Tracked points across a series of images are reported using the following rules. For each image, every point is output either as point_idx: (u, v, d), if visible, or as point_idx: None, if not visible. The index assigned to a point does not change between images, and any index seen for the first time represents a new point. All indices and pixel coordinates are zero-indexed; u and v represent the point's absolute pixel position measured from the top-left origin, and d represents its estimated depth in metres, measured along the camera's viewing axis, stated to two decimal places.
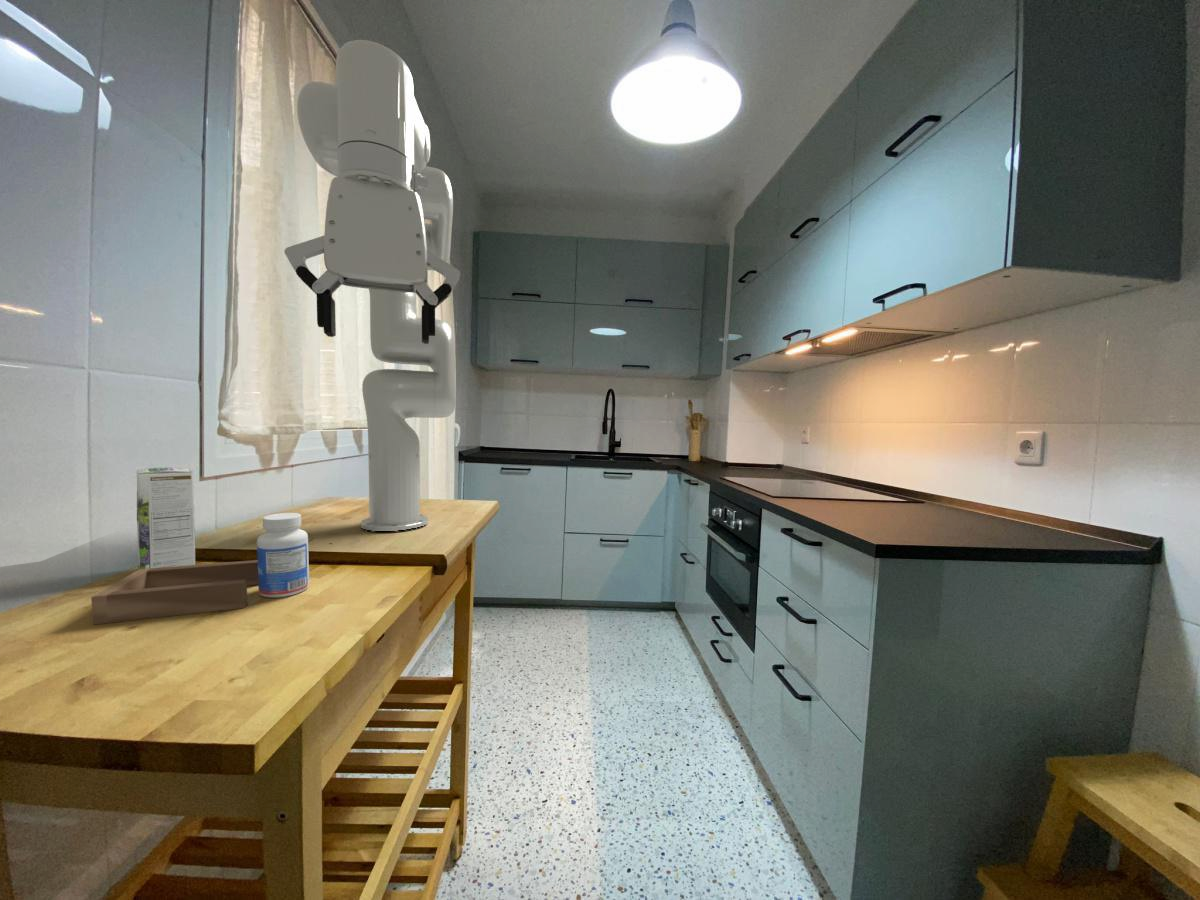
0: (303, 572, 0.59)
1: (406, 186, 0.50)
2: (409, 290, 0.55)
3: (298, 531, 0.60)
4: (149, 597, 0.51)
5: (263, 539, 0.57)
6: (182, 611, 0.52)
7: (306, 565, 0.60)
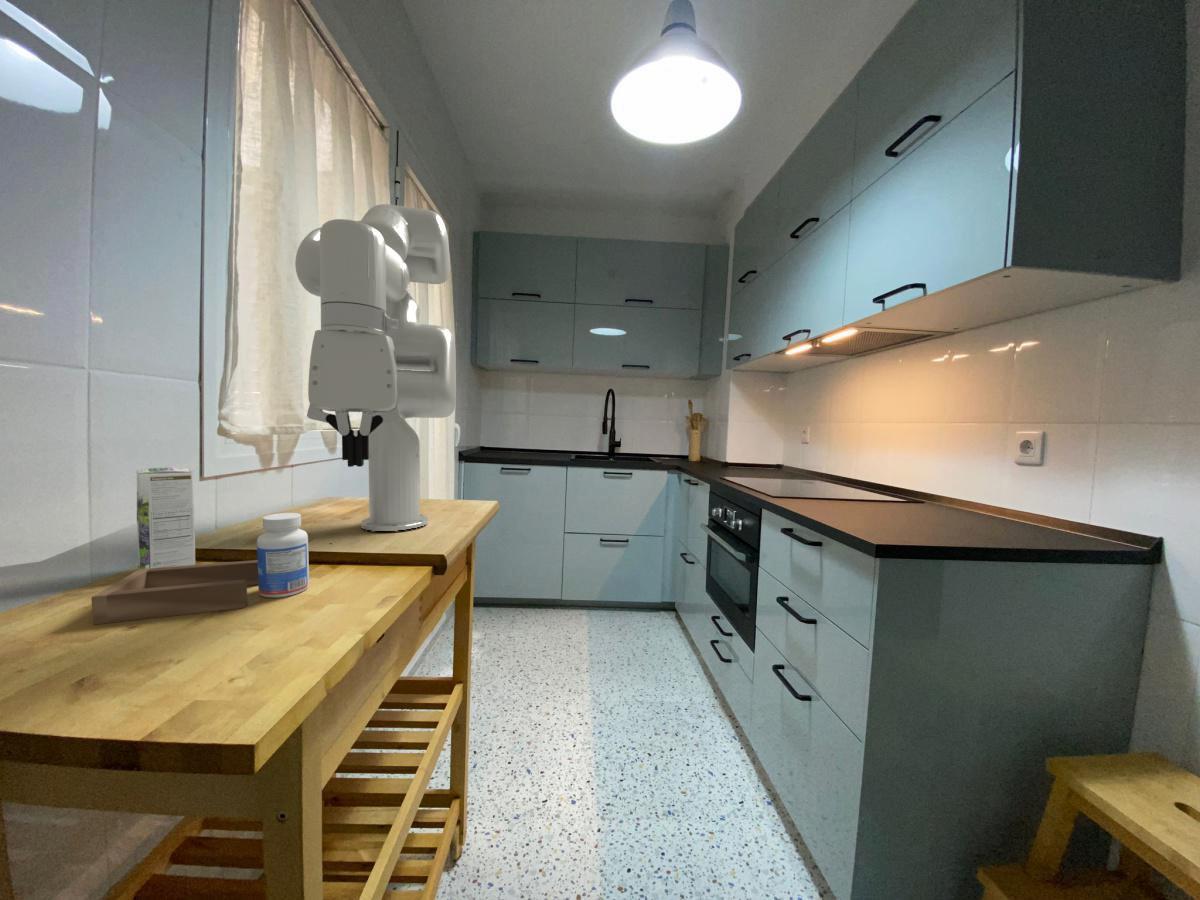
0: (303, 572, 0.59)
1: (378, 332, 0.60)
2: None
3: (298, 531, 0.60)
4: (149, 597, 0.51)
5: (263, 539, 0.57)
6: (182, 611, 0.52)
7: (306, 565, 0.60)
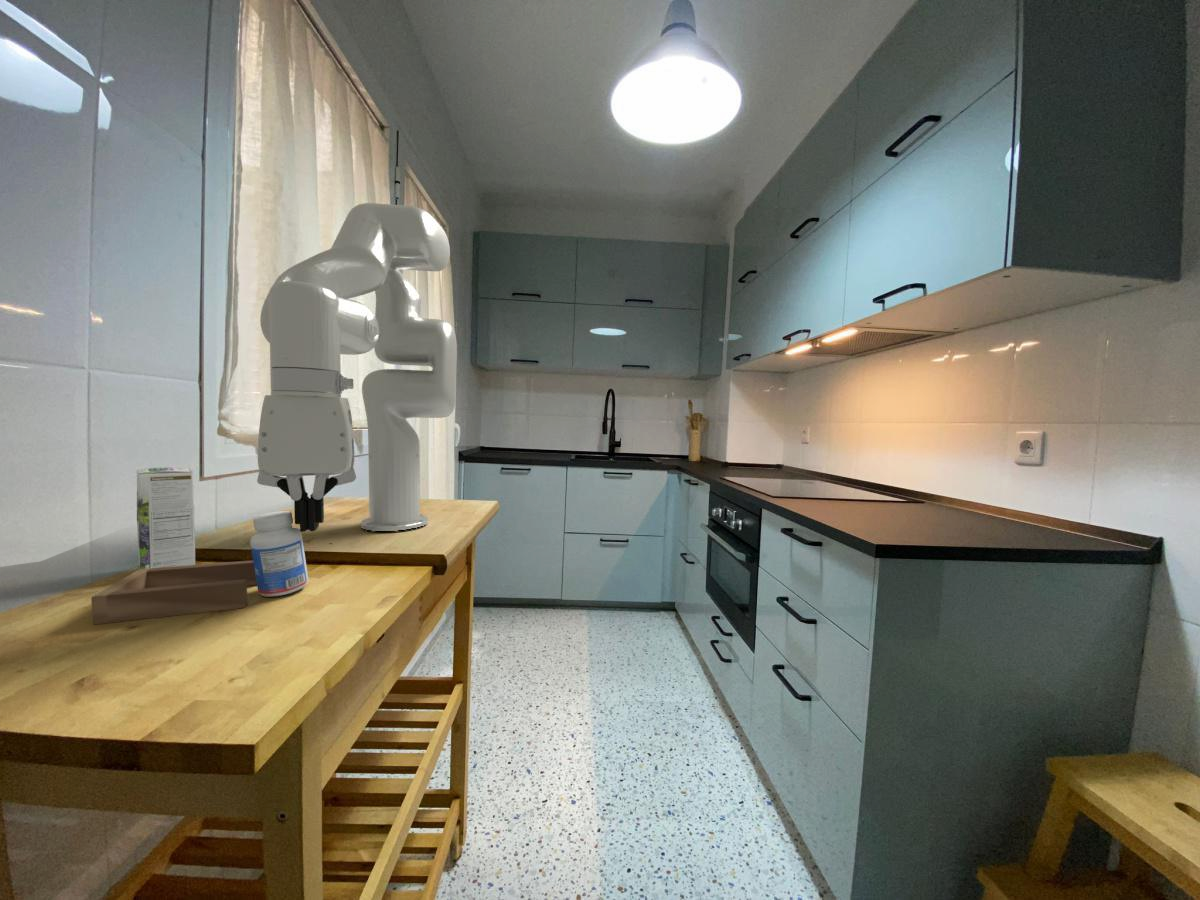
0: (300, 569, 0.59)
1: (331, 395, 0.58)
2: None
3: (291, 529, 0.59)
4: (149, 597, 0.51)
5: (255, 539, 0.57)
6: (182, 611, 0.52)
7: (303, 562, 0.60)
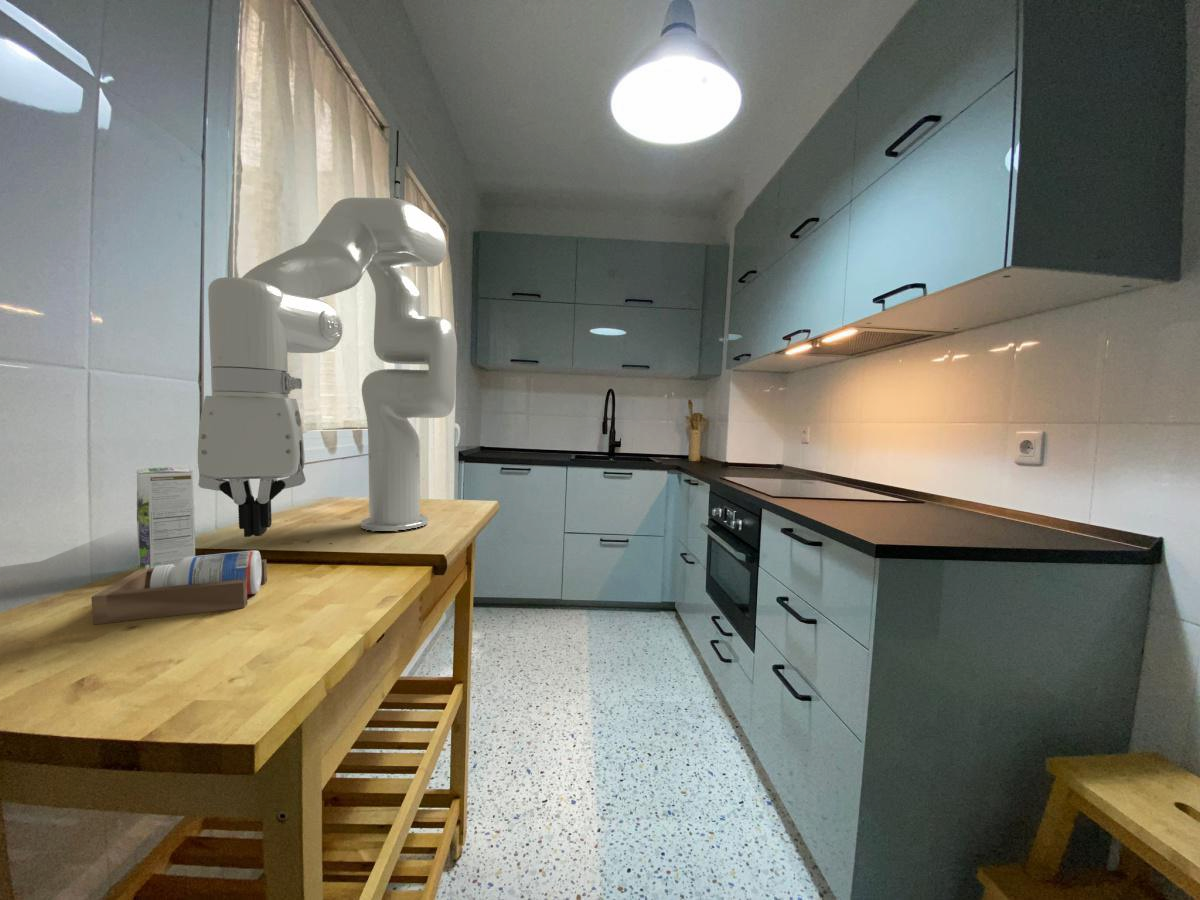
0: (231, 556, 0.57)
1: (275, 395, 0.56)
2: None
3: (178, 565, 0.55)
4: (149, 597, 0.51)
5: None
6: (182, 611, 0.52)
7: (225, 554, 0.57)
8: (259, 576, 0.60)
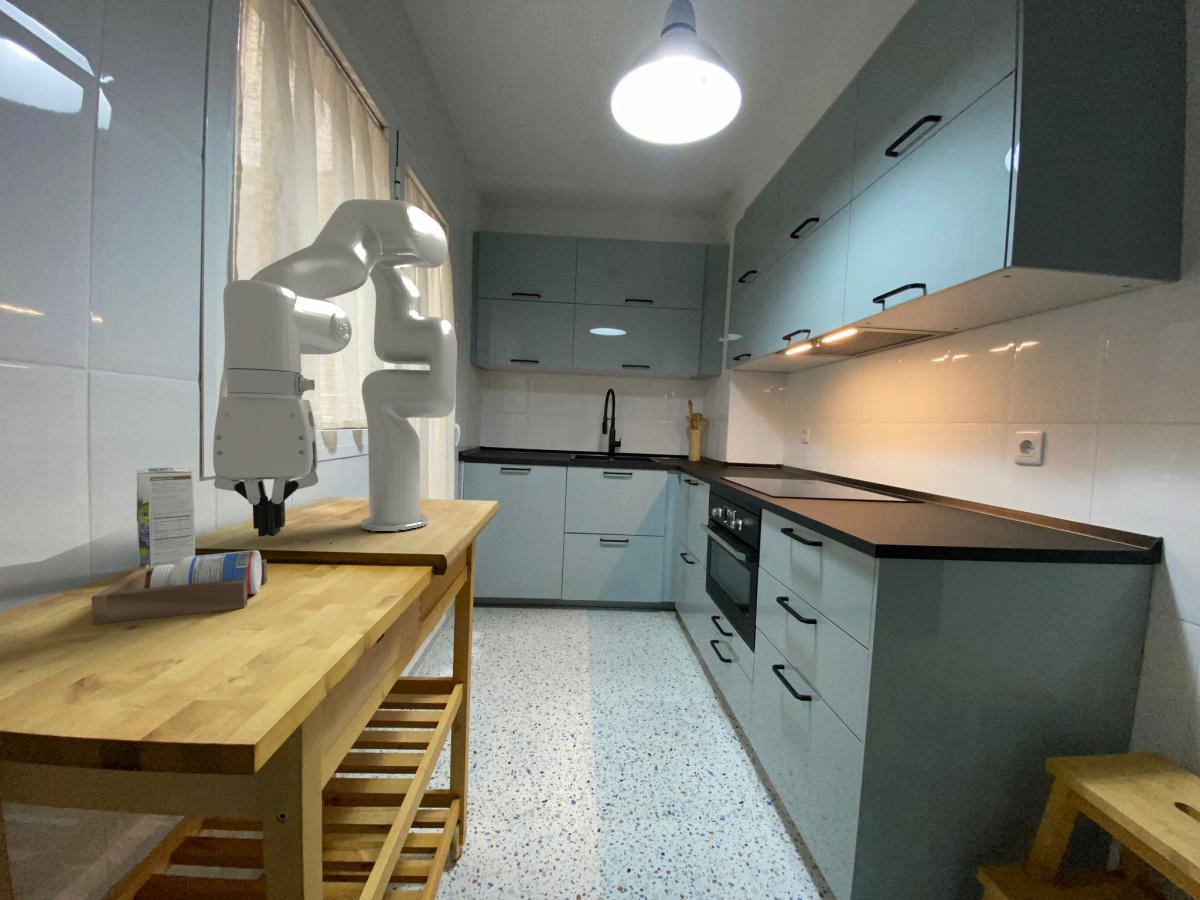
0: (231, 556, 0.57)
1: (288, 397, 0.57)
2: None
3: (178, 565, 0.55)
4: (149, 597, 0.51)
5: None
6: (182, 611, 0.52)
7: (225, 554, 0.57)
8: (259, 576, 0.60)
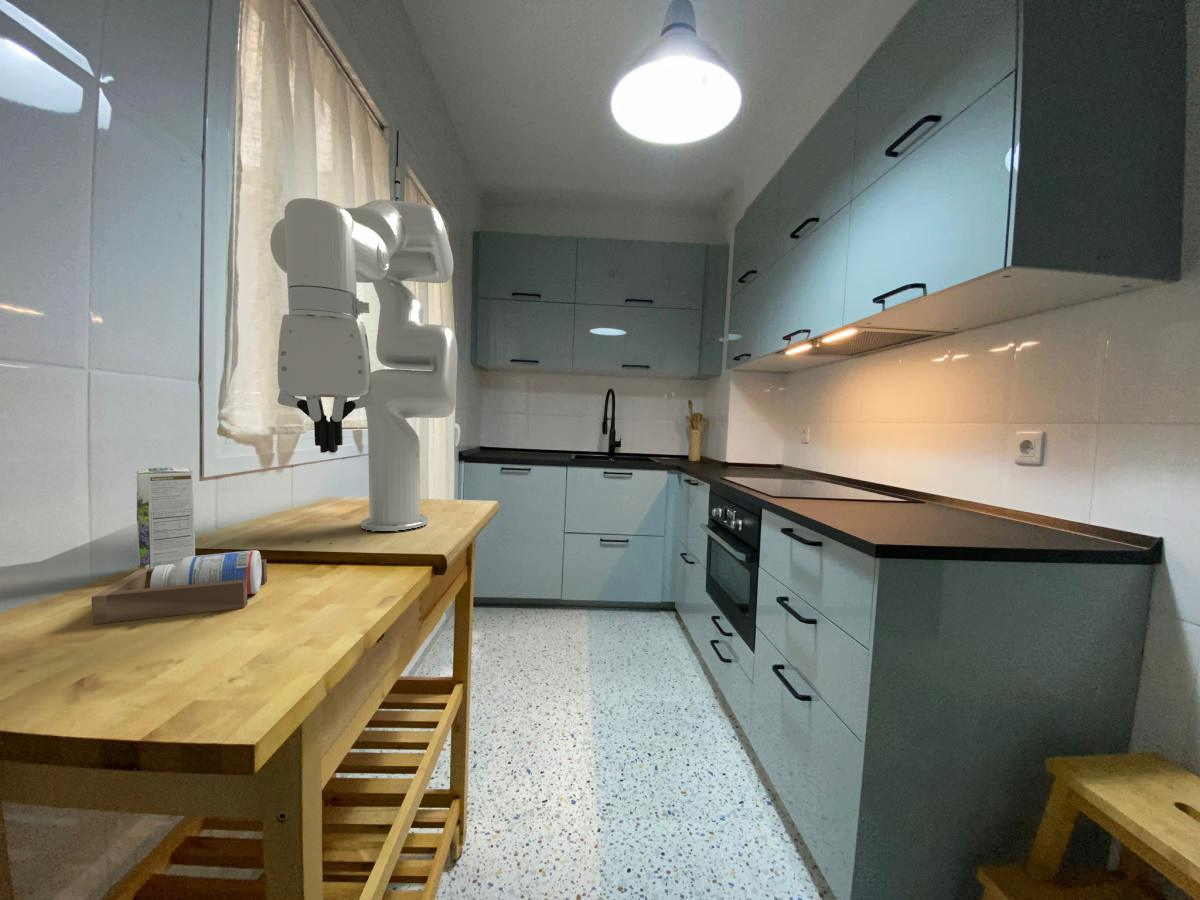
0: (231, 556, 0.57)
1: (348, 317, 0.58)
2: None
3: (178, 565, 0.55)
4: (149, 597, 0.51)
5: None
6: (182, 611, 0.52)
7: (225, 554, 0.57)
8: (259, 576, 0.60)
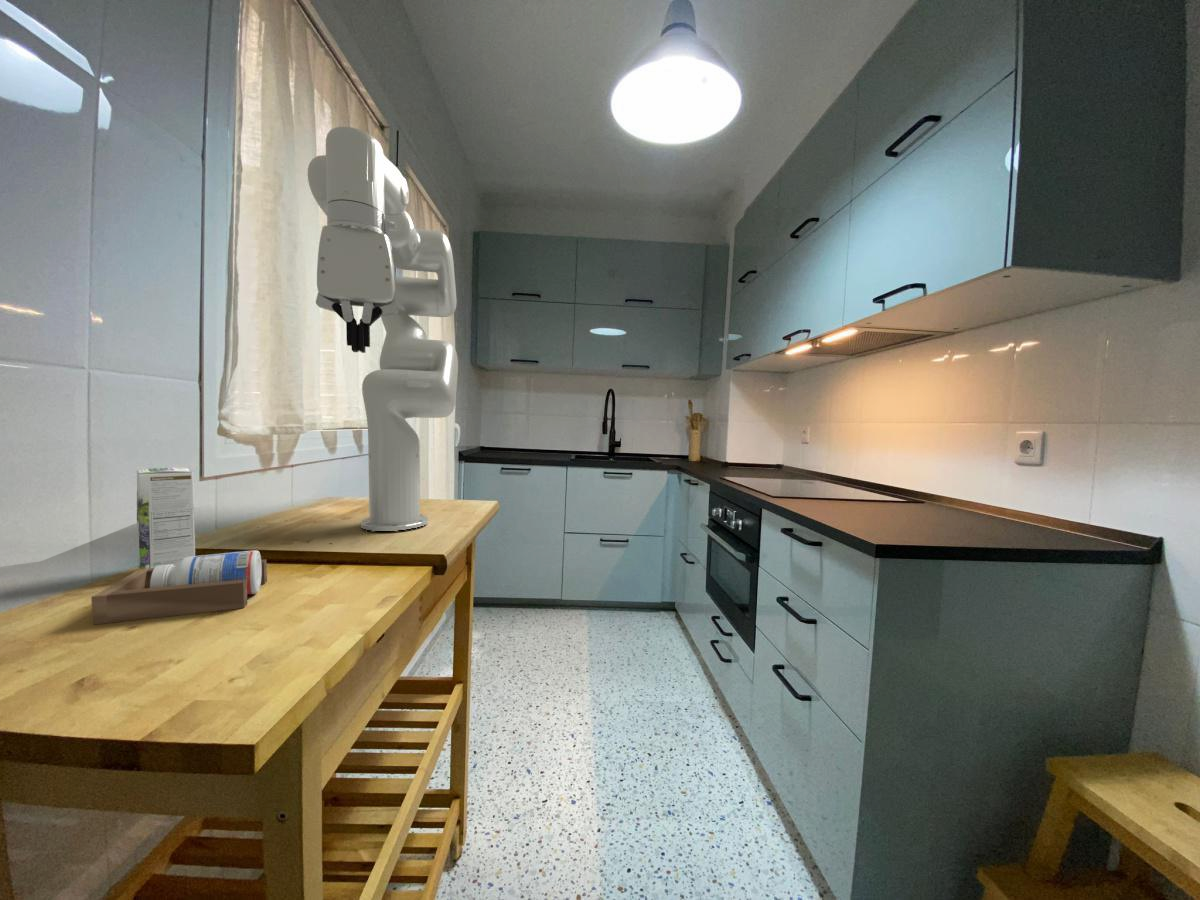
0: (231, 556, 0.57)
1: (377, 230, 0.68)
2: (382, 306, 0.73)
3: (178, 565, 0.55)
4: (149, 597, 0.51)
5: None
6: (182, 611, 0.52)
7: (225, 554, 0.57)
8: (259, 576, 0.60)
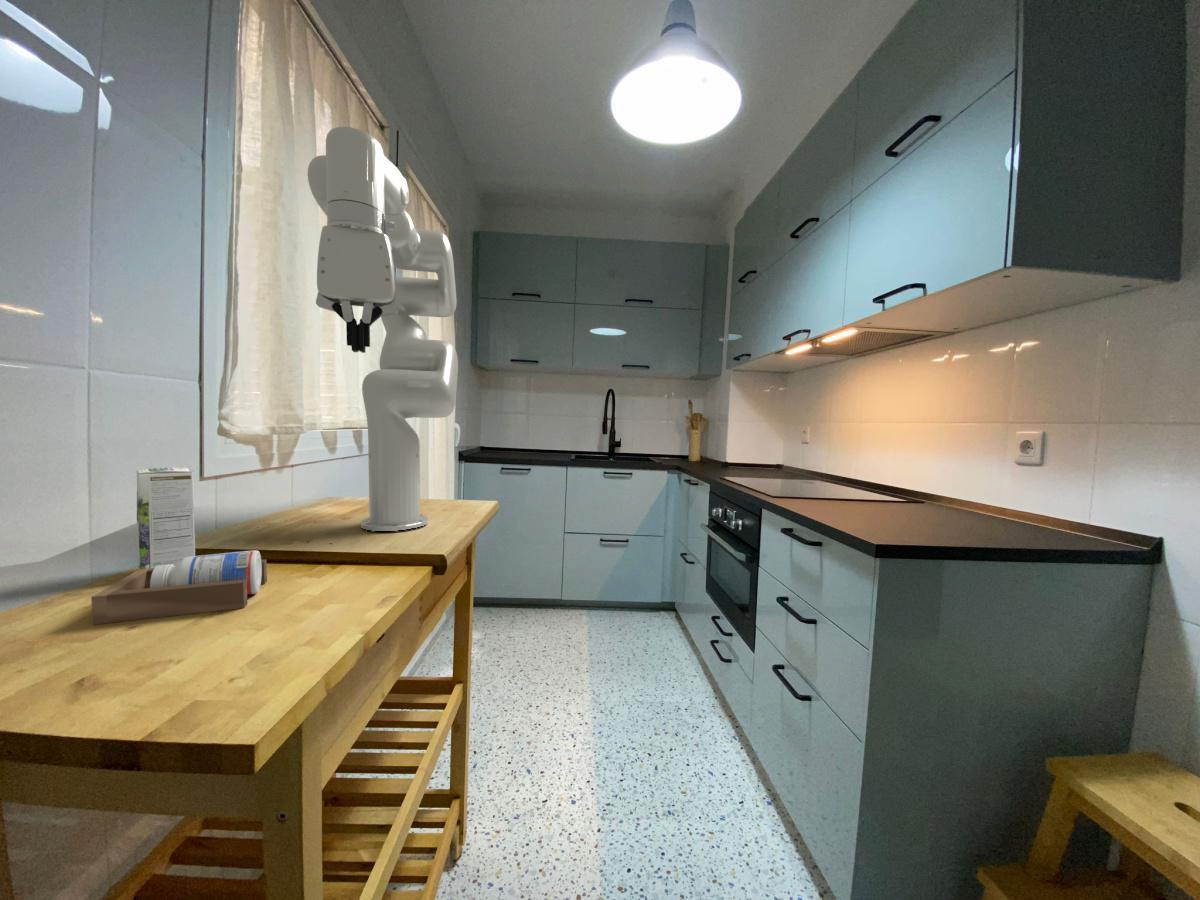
0: (231, 556, 0.57)
1: (377, 230, 0.68)
2: (382, 306, 0.73)
3: (178, 565, 0.55)
4: (149, 597, 0.51)
5: None
6: (182, 611, 0.52)
7: (225, 554, 0.57)
8: (259, 576, 0.60)
